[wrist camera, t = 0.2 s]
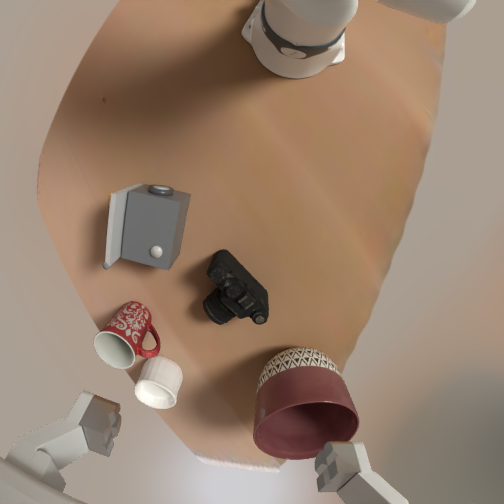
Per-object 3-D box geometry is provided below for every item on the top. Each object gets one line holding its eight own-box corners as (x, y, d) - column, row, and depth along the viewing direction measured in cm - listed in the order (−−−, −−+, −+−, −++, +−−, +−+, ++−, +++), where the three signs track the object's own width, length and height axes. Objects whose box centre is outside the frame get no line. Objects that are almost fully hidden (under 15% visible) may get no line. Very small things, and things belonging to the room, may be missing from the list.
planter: (304, 312, 62) (323, 384, 42) (351, 361, 67) (376, 428, 47) (236, 360, 66) (230, 433, 46) (288, 400, 71) (294, 468, 51)
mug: (117, 325, 64) (94, 360, 51) (119, 292, 61) (92, 325, 48) (167, 340, 65) (152, 380, 52) (172, 308, 62) (155, 346, 49)
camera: (187, 275, 59) (175, 299, 50) (227, 242, 57) (221, 262, 48) (233, 321, 63) (229, 350, 54) (273, 293, 61) (276, 320, 51)
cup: (141, 352, 67) (128, 379, 57) (180, 355, 66) (170, 383, 57) (149, 380, 70) (139, 407, 61) (186, 383, 70) (179, 411, 60)
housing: (146, 179, 53) (128, 185, 45) (191, 188, 53) (180, 196, 45) (136, 243, 57) (119, 259, 49) (179, 254, 58) (167, 271, 50)
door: (135, 182, 53) (107, 192, 42) (142, 184, 53) (116, 194, 42) (127, 245, 57) (101, 267, 46) (134, 247, 57) (109, 270, 46)
